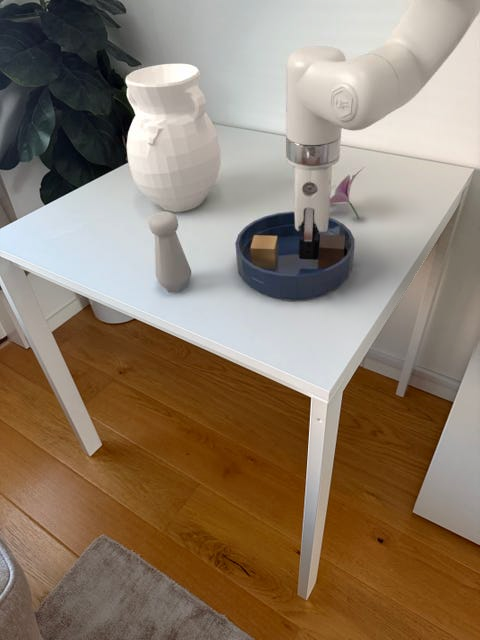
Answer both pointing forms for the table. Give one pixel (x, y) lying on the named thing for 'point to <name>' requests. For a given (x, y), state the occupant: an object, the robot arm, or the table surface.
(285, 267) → the bowl
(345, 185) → the lily
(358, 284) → the table surface
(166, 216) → the salt shaker
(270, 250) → the maple block
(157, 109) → the white vase
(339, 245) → the walnut block
